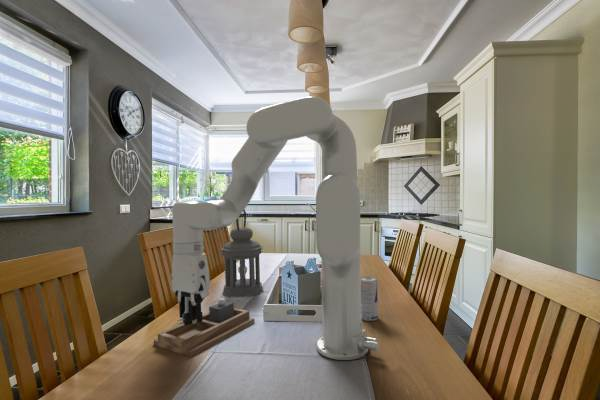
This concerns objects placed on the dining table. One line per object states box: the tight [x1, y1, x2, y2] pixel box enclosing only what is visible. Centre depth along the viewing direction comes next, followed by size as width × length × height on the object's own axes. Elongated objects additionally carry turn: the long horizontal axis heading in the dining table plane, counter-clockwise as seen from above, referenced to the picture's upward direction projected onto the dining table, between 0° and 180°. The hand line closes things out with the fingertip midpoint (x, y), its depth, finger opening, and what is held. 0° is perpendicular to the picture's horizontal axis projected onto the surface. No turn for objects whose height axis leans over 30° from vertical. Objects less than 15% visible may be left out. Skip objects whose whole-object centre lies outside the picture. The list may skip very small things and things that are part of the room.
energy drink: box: [361, 276, 379, 322], centre depth 101 cm, size 5×5×12 cm
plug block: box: [208, 298, 235, 323], centre depth 98 cm, size 4×6×7 cm, turn 149°
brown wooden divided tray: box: [153, 307, 255, 358], centre depth 94 cm, size 14×24×3 cm, turn 149°
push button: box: [176, 290, 204, 326], centre depth 89 cm, size 7×5×10 cm
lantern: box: [220, 208, 264, 298], centre depth 133 cm, size 17×17×35 cm
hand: (190, 316), depth 89 cm, fingers closed on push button, 3 cm apart
